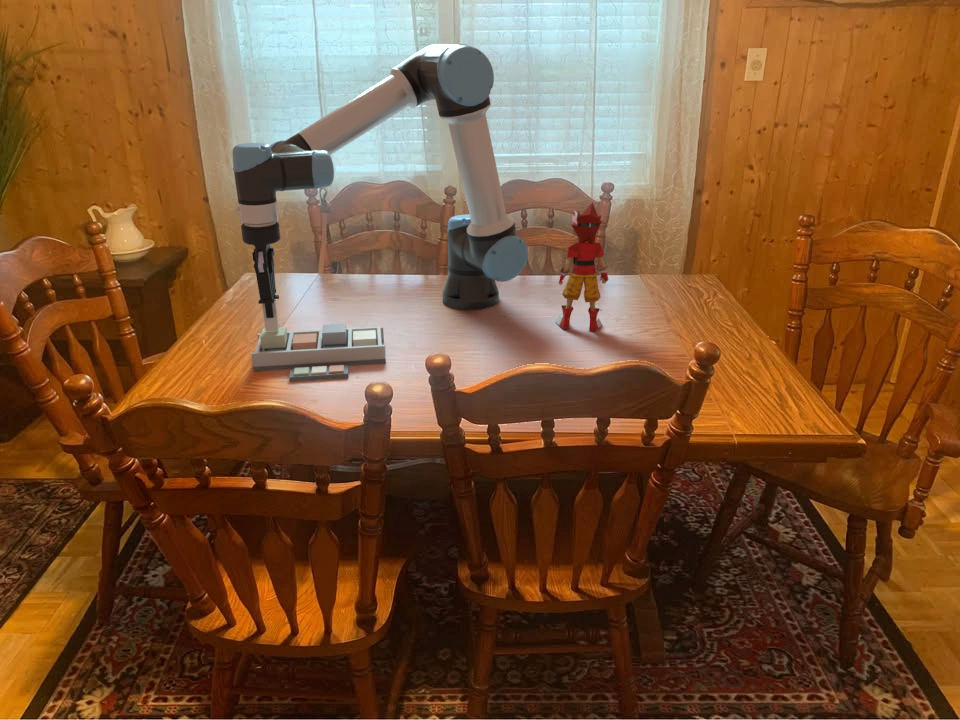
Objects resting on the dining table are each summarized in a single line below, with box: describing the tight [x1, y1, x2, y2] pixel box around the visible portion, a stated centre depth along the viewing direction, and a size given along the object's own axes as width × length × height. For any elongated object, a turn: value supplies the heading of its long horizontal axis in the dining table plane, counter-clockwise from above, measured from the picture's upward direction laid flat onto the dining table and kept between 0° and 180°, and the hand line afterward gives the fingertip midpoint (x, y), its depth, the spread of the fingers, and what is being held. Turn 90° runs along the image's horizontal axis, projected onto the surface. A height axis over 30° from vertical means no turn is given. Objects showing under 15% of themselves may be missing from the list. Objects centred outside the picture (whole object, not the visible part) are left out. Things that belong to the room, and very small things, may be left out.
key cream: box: [353, 330, 376, 346], centre depth 164 cm, size 5×5×3 cm
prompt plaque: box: [288, 365, 350, 383], centre depth 155 cm, size 12×4×1 cm, turn 99°
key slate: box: [321, 322, 347, 345], centre depth 162 cm, size 5×5×3 cm
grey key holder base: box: [250, 325, 387, 372], centre depth 163 cm, size 28×12×4 cm, turn 99°
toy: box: [554, 202, 610, 333], centre depth 174 cm, size 12×9×30 cm
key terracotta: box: [292, 333, 318, 350], centre depth 162 cm, size 5×5×3 cm
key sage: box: [260, 326, 288, 349], centre depth 160 cm, size 5×5×3 cm
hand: (272, 329), depth 160 cm, fingers closed
